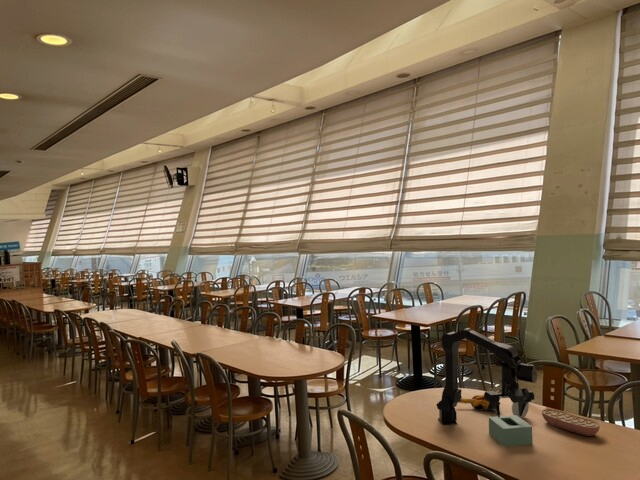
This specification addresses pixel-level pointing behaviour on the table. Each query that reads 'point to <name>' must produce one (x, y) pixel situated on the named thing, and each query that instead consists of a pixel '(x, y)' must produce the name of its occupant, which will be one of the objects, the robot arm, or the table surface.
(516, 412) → the donut
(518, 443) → the box
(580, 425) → the pink mitochondrion model
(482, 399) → the fried shrimp in bowl
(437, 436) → the table surface
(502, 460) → the table surface
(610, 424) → the table surface
